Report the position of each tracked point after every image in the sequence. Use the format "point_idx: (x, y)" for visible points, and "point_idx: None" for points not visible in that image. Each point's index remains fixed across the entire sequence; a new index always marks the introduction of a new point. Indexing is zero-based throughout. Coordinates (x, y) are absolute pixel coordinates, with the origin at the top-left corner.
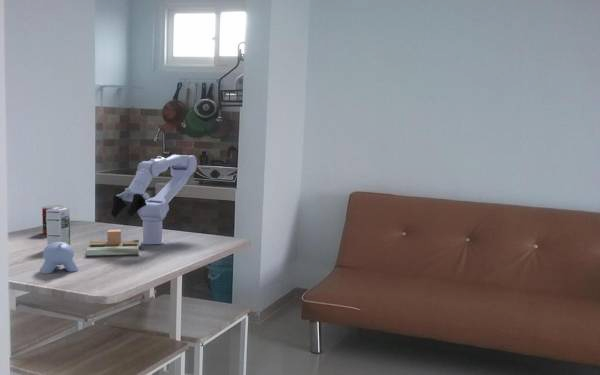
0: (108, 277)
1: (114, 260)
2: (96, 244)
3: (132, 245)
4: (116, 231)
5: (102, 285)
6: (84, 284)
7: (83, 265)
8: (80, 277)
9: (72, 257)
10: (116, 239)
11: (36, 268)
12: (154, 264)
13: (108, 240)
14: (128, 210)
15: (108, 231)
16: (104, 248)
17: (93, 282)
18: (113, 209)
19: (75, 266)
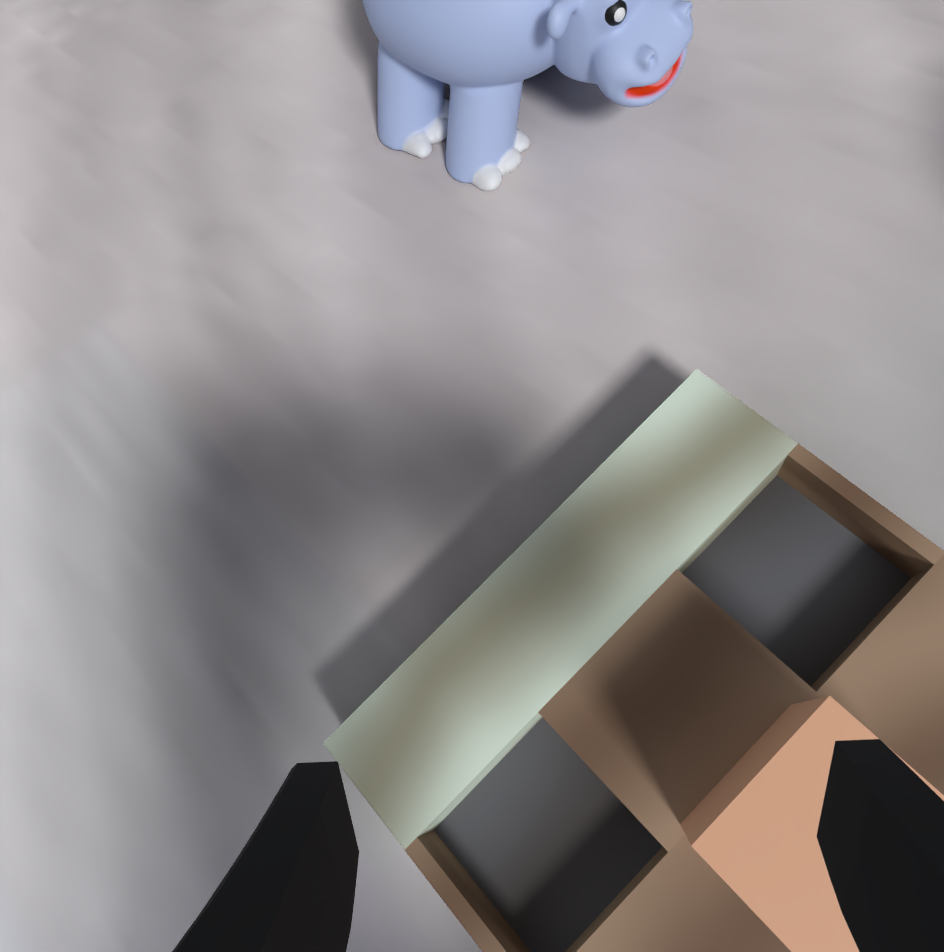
0: (125, 177)
1: (400, 471)
2: (887, 615)
3: (585, 939)
4: (751, 813)
5: (61, 85)
6: (146, 40)
7: (468, 232)
8: (256, 84)
9: (381, 42)
10: (722, 790)
11: None
12: (54, 572)
13: (790, 711)
14: (312, 795)
15: (847, 731)
16: (615, 521)
17: (132, 82)
18: (909, 818)
19: (379, 104)
